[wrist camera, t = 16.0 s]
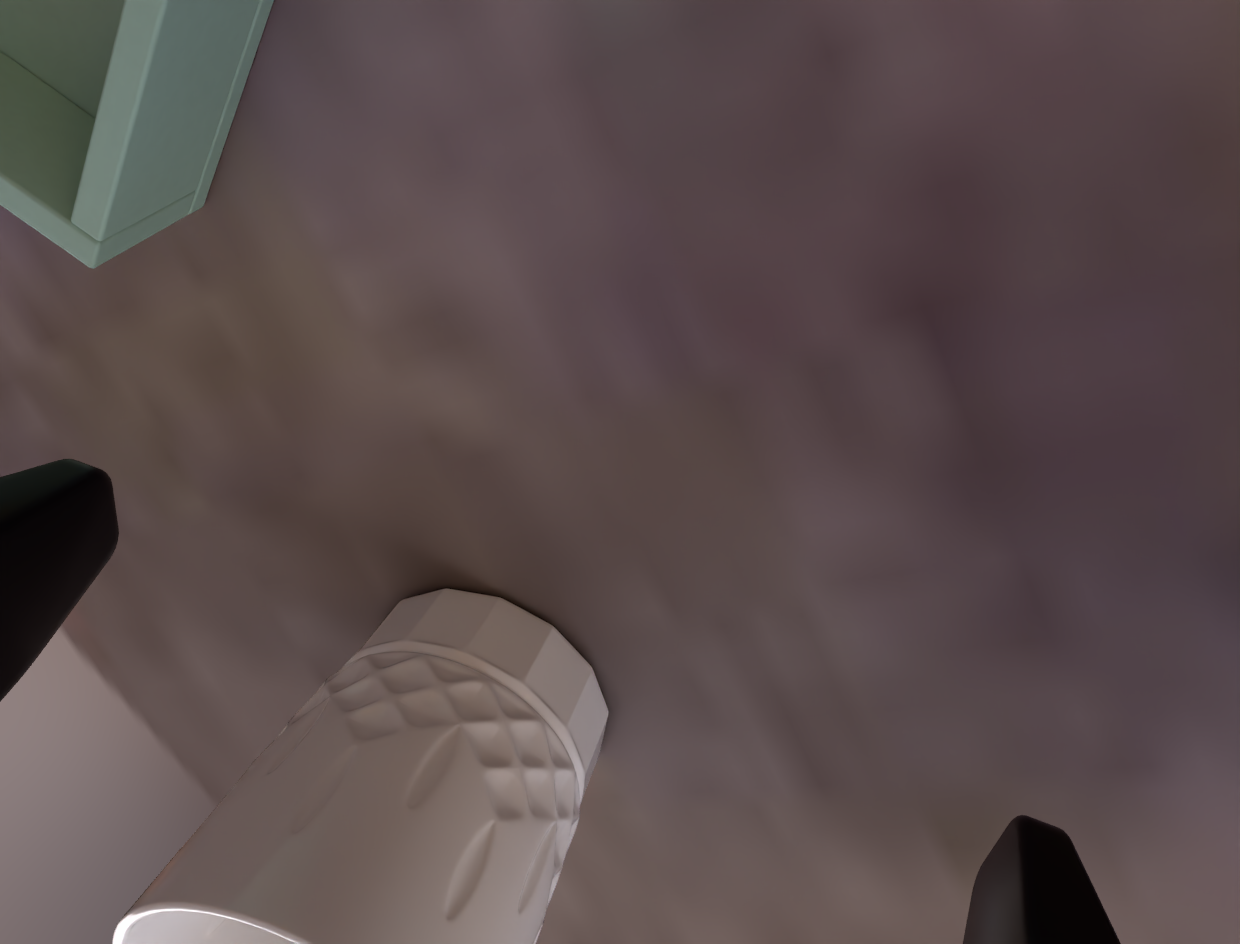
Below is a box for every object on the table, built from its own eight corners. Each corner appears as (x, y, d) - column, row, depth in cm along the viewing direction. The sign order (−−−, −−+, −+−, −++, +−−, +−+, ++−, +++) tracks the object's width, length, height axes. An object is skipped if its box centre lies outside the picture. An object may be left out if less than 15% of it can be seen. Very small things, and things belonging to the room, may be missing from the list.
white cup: (314, 571, 29) (41, 886, 21) (581, 561, 26) (373, 929, 18) (421, 780, 33) (221, 1115, 25) (665, 795, 29) (524, 1185, 22)
